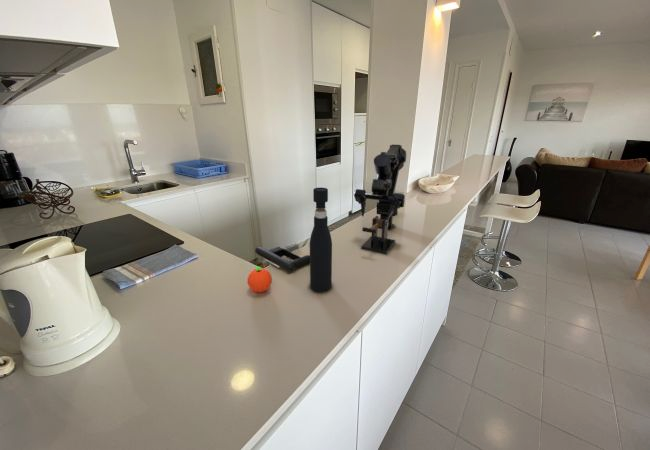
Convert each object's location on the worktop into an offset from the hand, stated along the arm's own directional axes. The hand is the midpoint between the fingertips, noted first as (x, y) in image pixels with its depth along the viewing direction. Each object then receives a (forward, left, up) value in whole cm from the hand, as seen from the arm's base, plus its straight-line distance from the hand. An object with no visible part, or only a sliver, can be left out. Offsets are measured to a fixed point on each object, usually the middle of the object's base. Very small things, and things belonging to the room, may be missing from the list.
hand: (374, 217), depth 102 cm
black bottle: (+32, -5, -13) cm, 35 cm away
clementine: (+42, -20, -13) cm, 48 cm away
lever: (+1, +1, -4) cm, 4 cm away
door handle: (+22, -25, -13) cm, 36 cm away
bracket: (-4, +1, -13) cm, 14 cm away
